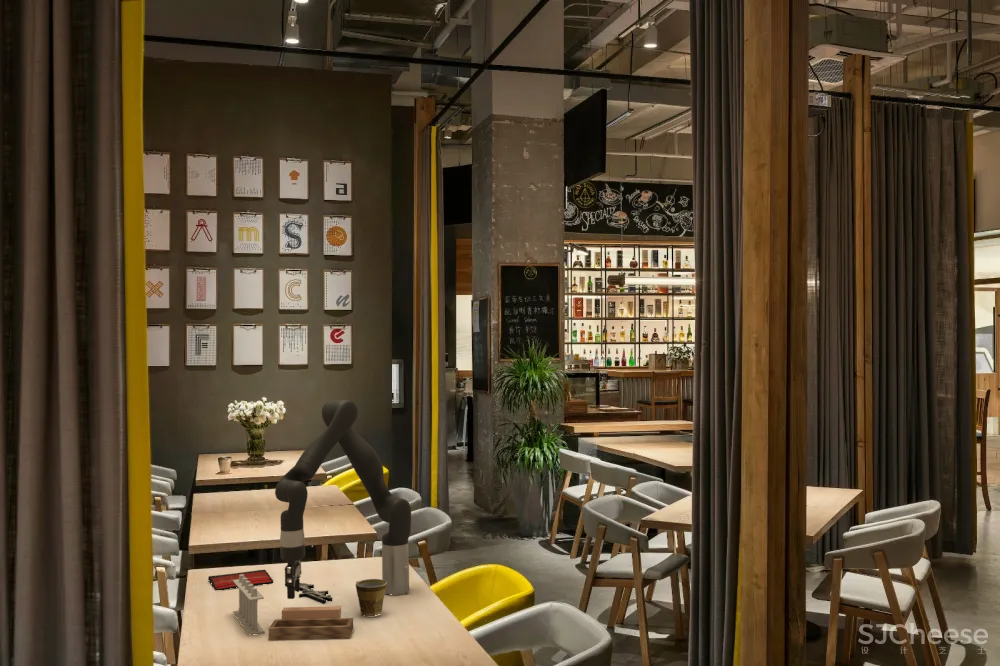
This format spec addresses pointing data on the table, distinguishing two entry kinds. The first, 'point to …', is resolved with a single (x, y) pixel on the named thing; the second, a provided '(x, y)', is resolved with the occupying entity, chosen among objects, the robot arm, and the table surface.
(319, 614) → the clay strip
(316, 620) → the shallow wooden tray
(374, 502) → the robot arm
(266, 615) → the table surface
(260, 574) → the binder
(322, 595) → the dark angular piece
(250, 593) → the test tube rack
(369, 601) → the ceramic cup
